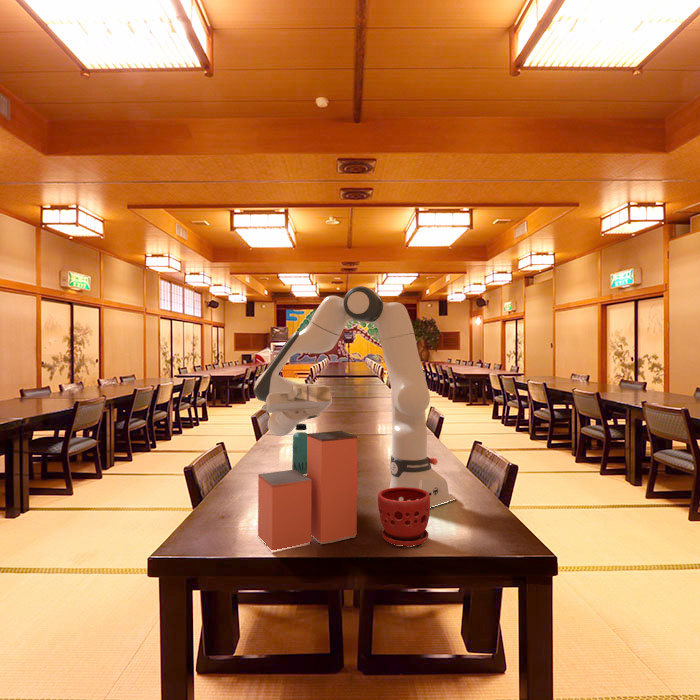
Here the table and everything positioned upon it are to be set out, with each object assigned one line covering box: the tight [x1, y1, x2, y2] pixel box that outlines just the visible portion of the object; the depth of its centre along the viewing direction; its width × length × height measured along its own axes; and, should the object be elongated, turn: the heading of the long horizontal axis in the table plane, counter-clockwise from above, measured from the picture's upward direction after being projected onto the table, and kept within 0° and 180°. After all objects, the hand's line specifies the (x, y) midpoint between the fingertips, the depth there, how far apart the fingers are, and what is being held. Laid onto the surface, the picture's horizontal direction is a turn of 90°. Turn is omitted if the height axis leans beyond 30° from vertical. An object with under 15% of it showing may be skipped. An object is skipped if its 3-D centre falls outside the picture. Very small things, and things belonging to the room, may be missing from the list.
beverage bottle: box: [291, 423, 308, 476], centre depth 174 cm, size 6×7×20 cm
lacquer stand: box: [257, 430, 358, 550], centre depth 117 cm, size 22×12×26 cm, turn 118°
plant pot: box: [377, 487, 431, 546], centre depth 116 cm, size 13×13×12 cm
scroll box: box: [293, 383, 331, 402], centre depth 131 cm, size 4×17×4 cm, turn 28°
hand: (307, 389), depth 133 cm, fingers closed on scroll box, 4 cm apart
